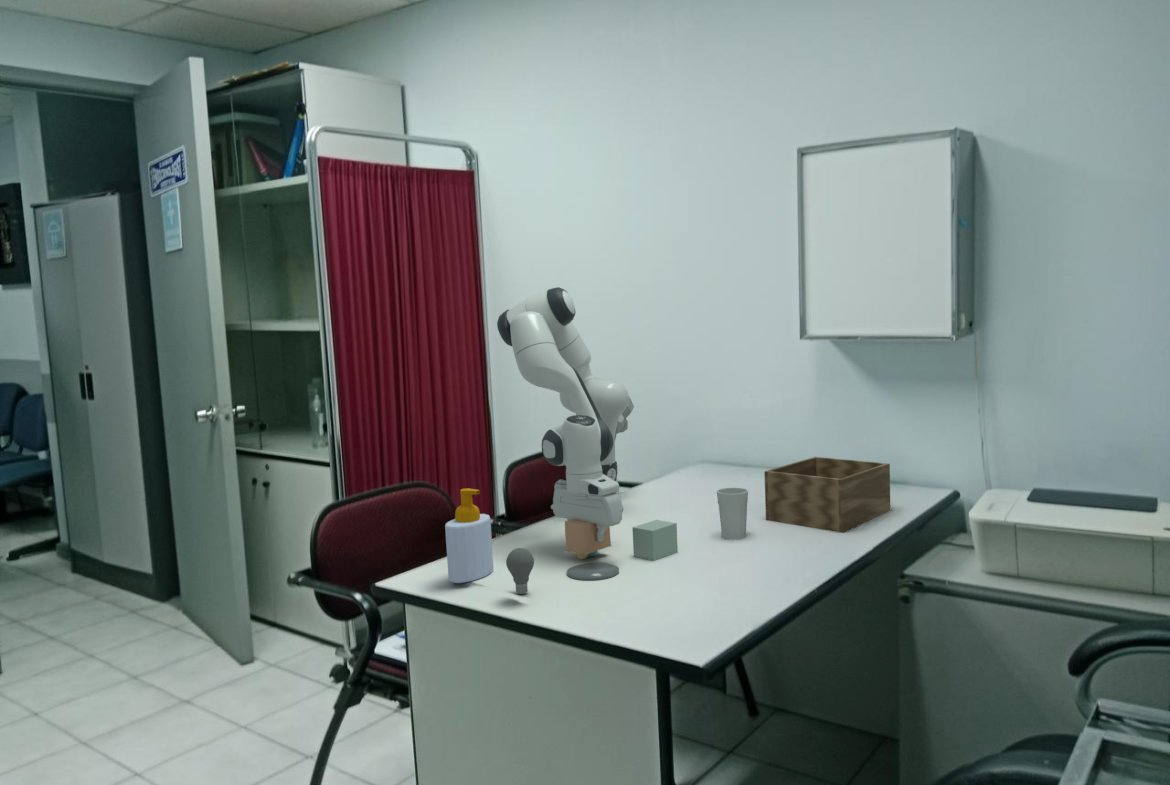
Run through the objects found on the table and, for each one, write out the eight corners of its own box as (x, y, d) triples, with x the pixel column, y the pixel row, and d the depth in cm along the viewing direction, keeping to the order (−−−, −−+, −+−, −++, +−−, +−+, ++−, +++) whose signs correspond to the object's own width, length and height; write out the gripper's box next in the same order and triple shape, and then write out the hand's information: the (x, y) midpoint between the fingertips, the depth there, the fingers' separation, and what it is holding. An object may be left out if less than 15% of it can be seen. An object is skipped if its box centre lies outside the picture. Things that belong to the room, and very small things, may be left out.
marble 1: (572, 556, 222) (575, 544, 223) (580, 559, 224) (583, 547, 225) (580, 559, 220) (584, 547, 221) (588, 561, 222) (592, 549, 223)
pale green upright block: (633, 556, 223) (632, 527, 222) (657, 548, 229) (656, 519, 228) (653, 560, 218) (652, 530, 218) (677, 552, 225) (676, 523, 224)
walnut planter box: (765, 522, 250) (764, 471, 248) (815, 504, 268) (814, 456, 267) (842, 534, 233) (841, 480, 232) (890, 514, 252) (889, 463, 250)
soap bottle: (466, 585, 206) (461, 496, 204) (439, 581, 210) (433, 494, 208) (502, 569, 217) (497, 485, 215) (475, 565, 221) (470, 483, 220)
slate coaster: (556, 574, 211) (555, 572, 211) (592, 562, 219) (592, 559, 219) (593, 583, 203) (593, 581, 203) (629, 570, 211) (629, 568, 211)
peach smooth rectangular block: (566, 550, 223) (564, 521, 222) (591, 542, 229) (590, 513, 228) (585, 554, 218) (583, 525, 218) (610, 545, 225) (609, 517, 224)
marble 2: (583, 556, 225) (582, 544, 225) (591, 553, 227) (591, 541, 227) (592, 558, 223) (591, 546, 223) (600, 555, 225) (600, 543, 225)
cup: (749, 540, 232) (747, 493, 231) (717, 540, 233) (715, 494, 232) (750, 532, 240) (748, 487, 238) (719, 532, 241) (717, 487, 240)
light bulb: (508, 590, 201) (505, 545, 200) (535, 588, 202) (532, 543, 201) (508, 599, 195) (505, 553, 194) (536, 596, 196) (533, 551, 195)
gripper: (545, 481, 227) (549, 535, 228) (606, 489, 213) (609, 547, 214) (563, 476, 231) (566, 530, 233) (624, 484, 217) (627, 541, 219)
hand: (587, 538), depth 223 cm, fingers closed on peach smooth rectangular block, 6 cm apart
